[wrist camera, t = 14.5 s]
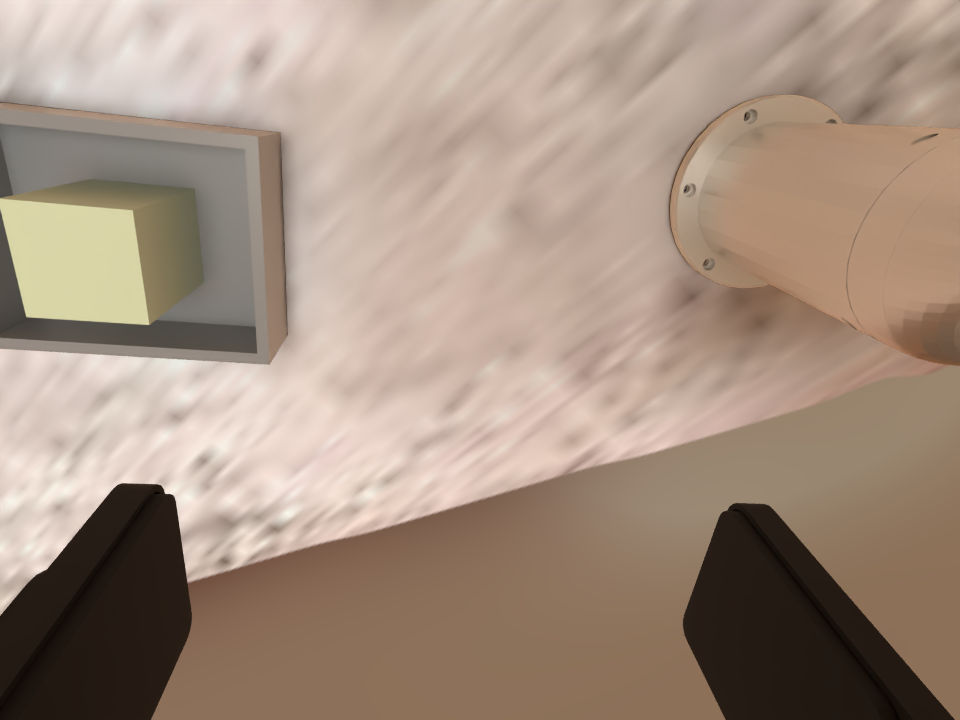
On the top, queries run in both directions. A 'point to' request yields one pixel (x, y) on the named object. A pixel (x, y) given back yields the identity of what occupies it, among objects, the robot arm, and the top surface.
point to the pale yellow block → (104, 250)
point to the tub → (221, 219)
